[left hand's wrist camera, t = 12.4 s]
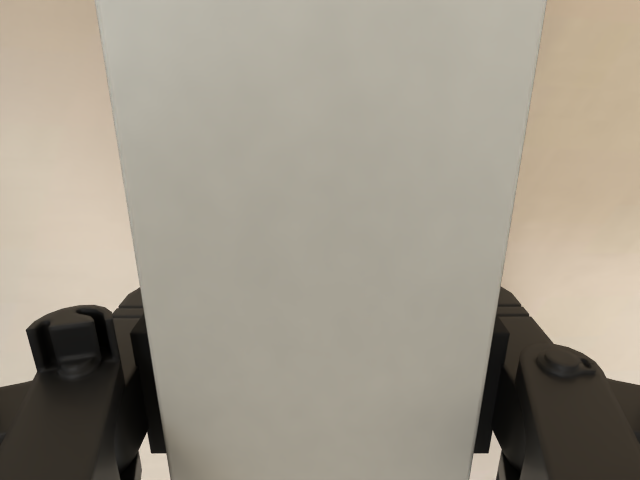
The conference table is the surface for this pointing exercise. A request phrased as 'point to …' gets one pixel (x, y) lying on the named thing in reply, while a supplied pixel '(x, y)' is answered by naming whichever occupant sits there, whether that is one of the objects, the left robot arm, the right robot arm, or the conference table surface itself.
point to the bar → (320, 223)
